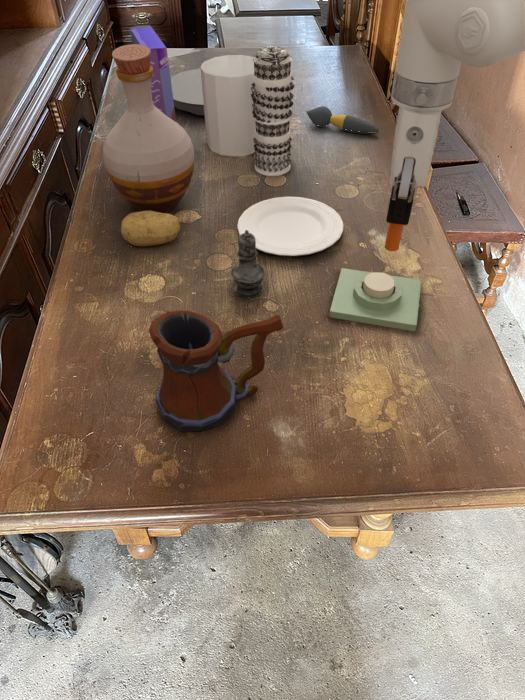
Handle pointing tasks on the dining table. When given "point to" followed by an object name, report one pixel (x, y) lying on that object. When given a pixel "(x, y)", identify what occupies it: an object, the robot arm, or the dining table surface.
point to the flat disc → (188, 91)
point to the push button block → (376, 302)
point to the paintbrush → (340, 121)
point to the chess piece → (248, 268)
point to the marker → (393, 235)
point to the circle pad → (378, 285)
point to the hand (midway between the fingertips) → (398, 216)
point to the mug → (203, 367)
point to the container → (229, 104)
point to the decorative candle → (272, 110)
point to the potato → (149, 228)
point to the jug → (146, 141)
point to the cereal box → (157, 68)
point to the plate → (291, 226)
